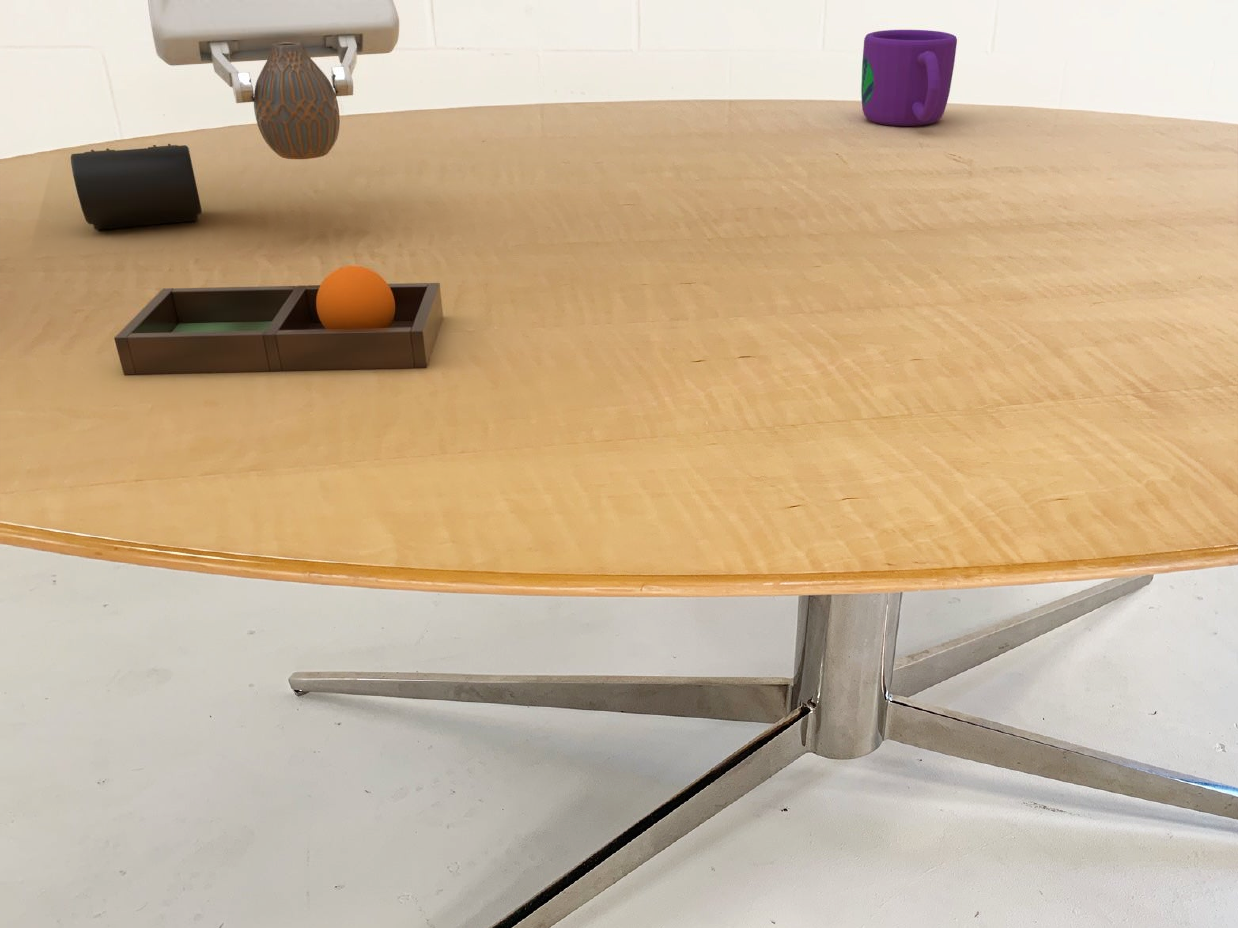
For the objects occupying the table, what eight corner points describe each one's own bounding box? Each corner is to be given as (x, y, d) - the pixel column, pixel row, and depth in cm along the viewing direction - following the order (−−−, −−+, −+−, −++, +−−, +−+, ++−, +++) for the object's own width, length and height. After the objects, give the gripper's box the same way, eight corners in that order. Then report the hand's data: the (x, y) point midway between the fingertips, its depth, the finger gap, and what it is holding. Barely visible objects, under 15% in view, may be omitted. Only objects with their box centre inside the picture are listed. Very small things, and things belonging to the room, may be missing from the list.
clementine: (315, 356, 78) (303, 280, 76) (330, 330, 83) (318, 257, 80) (394, 355, 79) (383, 278, 76) (404, 328, 83) (395, 255, 80)
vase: (255, 151, 102) (235, 41, 98) (333, 144, 105) (318, 36, 100) (271, 166, 97) (251, 51, 92) (353, 158, 100) (338, 45, 95)
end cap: (89, 239, 105) (68, 160, 102) (91, 220, 111) (71, 145, 107) (205, 228, 108) (189, 151, 105) (201, 210, 114) (186, 136, 110)
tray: (125, 383, 76) (113, 337, 74) (172, 330, 85) (162, 288, 83) (428, 376, 77) (422, 331, 75) (444, 324, 85) (439, 282, 84)
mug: (848, 113, 155) (854, 30, 149) (931, 111, 156) (940, 28, 150) (884, 139, 140) (892, 48, 135) (975, 137, 141) (987, 46, 136)
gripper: (379, -22, 107) (414, 110, 104) (140, -13, 100) (172, 127, 97) (382, -77, 101) (420, 61, 98) (129, -71, 94) (163, 77, 92)
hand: (295, 95), depth 98 cm, fingers closed on vase, 7 cm apart
